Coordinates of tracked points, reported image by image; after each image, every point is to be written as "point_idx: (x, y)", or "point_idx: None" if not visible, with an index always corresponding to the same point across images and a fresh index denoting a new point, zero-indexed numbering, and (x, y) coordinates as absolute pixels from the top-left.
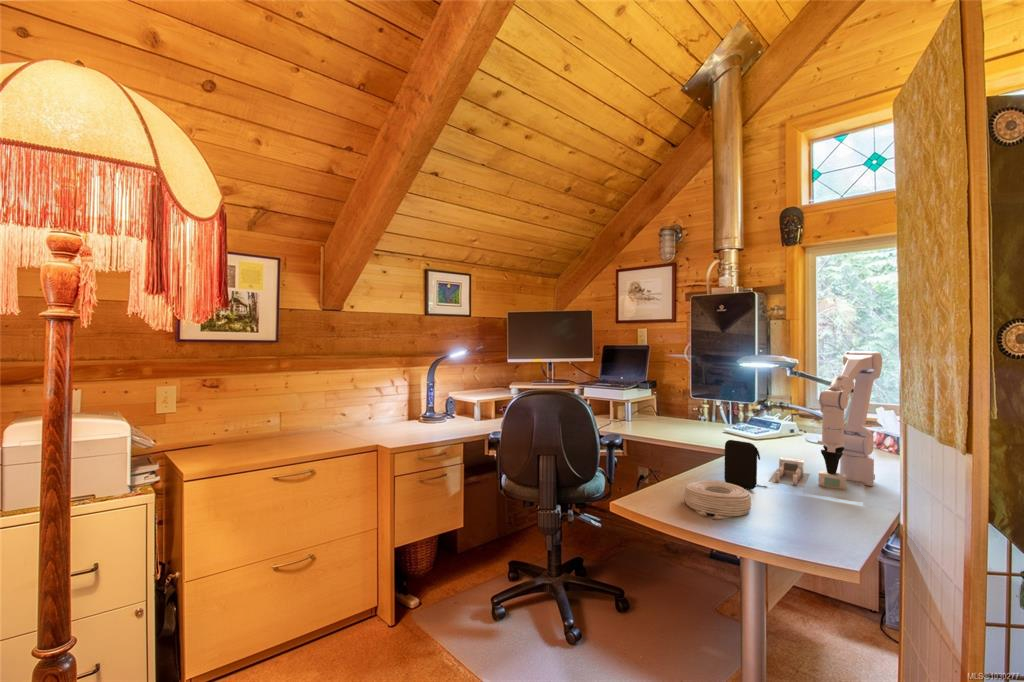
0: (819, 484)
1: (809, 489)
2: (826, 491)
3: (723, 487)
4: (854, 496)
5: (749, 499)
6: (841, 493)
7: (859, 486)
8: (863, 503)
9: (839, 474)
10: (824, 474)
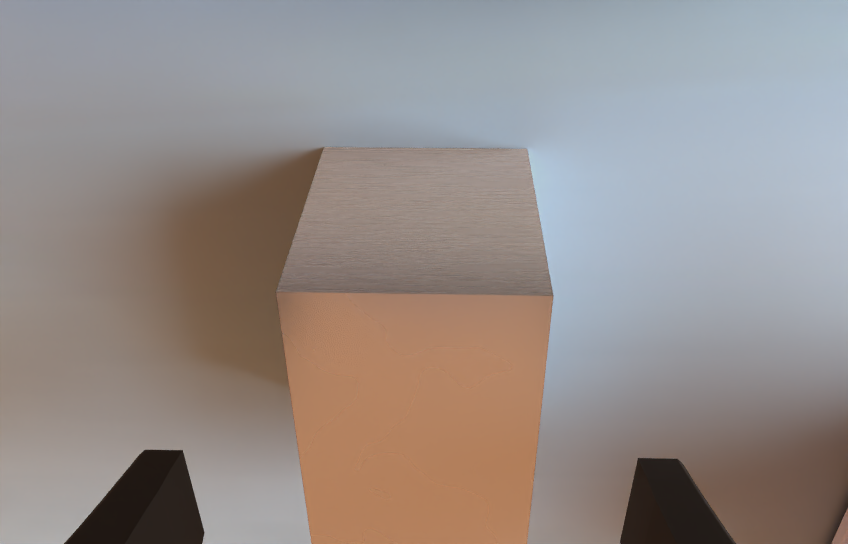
0: (314, 188)
1: (146, 34)
2: (235, 241)
3: None
4: (258, 468)
5: None
6: (281, 376)
7: (756, 505)
8: (57, 517)
9: (429, 530)
10: (288, 362)
